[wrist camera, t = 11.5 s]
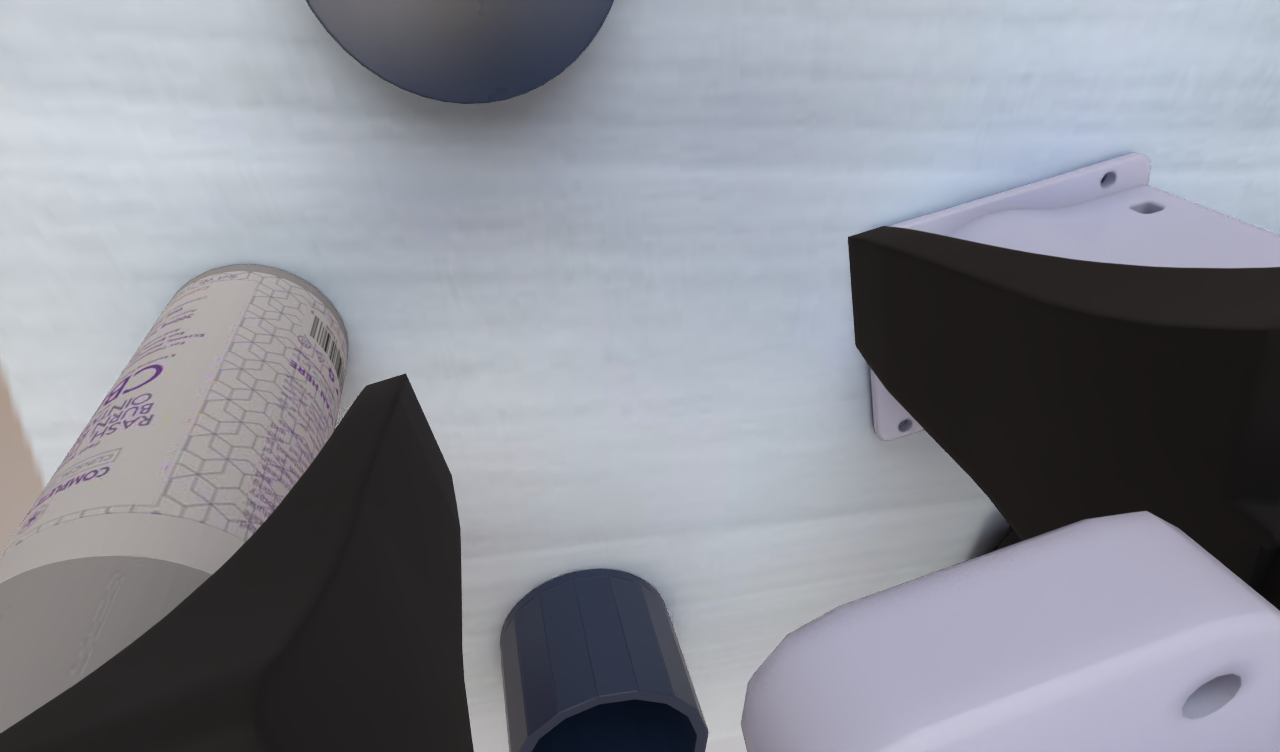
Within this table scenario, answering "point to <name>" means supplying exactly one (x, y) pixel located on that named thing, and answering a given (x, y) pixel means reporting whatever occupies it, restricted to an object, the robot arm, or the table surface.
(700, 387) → the table surface
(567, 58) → the lid
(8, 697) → the container
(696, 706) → the tin
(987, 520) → the table surface
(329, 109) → the table surface
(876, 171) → the table surface
